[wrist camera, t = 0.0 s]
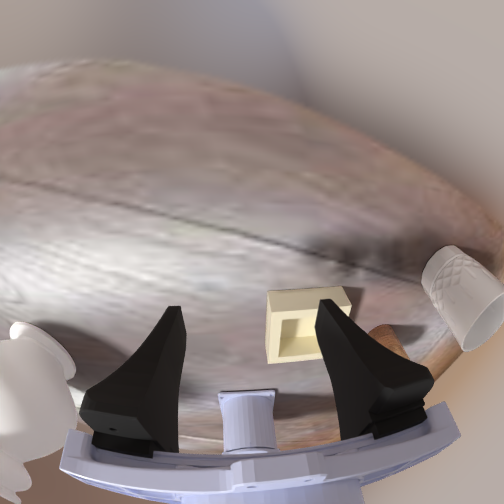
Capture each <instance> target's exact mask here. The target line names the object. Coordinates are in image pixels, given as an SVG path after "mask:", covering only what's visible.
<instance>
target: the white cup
mask: <svg viewBox="0 0 504 504" xmlns="http://www.w3.org/2000/svg"><path fill="white" fill-rule="evenodd" d="M421 284H422V286H423V289H424V291H425V292H426V294H427V295H428V296H429V298H430V299H431V300H432V303H433V305H434V306H435V308H436V309H437V311H438V312H439V314H440V316H441V317H442V319H443V320H444V322H445V323H446V325H447V326H448V328H449V329H450V331H451V332H452V334H453V336H454V337H455V339H456V340H457V342H458V344H459V345H460V347H461V349H462V350H463V351H464V352H469V351H472V350H474V349H476V348H478V347H479V346H481V345H482V344H483V343H485V342H486V341H487V340H488V339H489V338H490V337H491V336H492V335H493V334H494V333H495V332H496V331H497V330H498V328H499V327H500V326H501V325H502V323H503V322H504V284H503V283H502V282H501V281H500V280H499V279H498V278H496V277H495V276H494V275H493V274H492V273H491V272H489V271H488V270H487V269H486V268H485V267H484V266H482V265H481V264H480V263H479V262H477V261H476V260H474V259H473V258H472V257H470V256H468V255H467V254H465V253H464V252H463V251H461V250H460V249H459V248H457V247H456V246H455V245H450V246H445V247H443V248H441V249H440V250H438V251H437V252H436V253H435V254H434V255H433V256H432V257H431V258H430V260H429V261H428V262H427V264H426V266H425V268H424V270H423V273H422V280H421Z"/></svg>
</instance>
